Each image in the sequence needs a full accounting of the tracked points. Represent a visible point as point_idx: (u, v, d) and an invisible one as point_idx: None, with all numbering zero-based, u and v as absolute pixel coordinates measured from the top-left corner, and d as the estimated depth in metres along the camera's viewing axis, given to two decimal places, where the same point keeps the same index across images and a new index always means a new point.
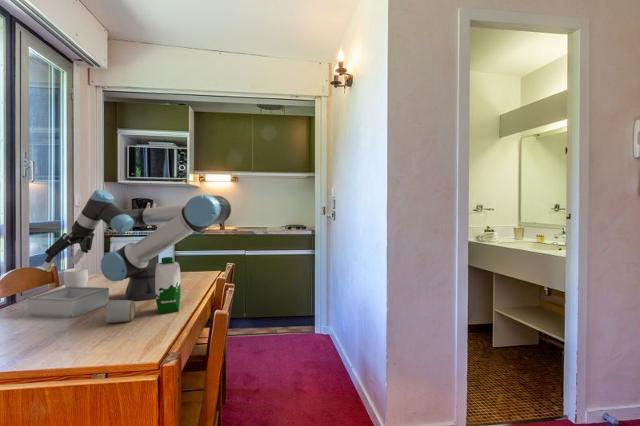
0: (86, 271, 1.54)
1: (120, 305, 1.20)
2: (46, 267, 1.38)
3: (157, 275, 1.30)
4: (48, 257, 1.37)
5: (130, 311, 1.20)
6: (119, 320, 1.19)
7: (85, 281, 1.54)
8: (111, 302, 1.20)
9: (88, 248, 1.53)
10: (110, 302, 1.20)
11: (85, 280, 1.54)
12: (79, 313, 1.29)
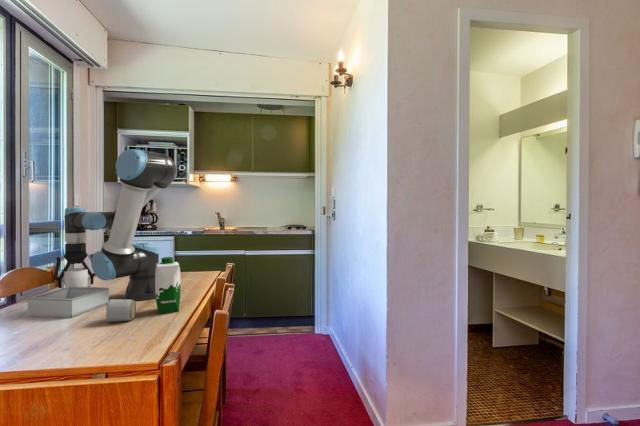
0: (86, 271, 1.54)
1: (121, 304, 1.20)
2: None
3: (157, 275, 1.30)
4: (58, 282, 1.50)
5: (131, 310, 1.21)
6: (120, 319, 1.20)
7: (85, 281, 1.54)
8: (112, 301, 1.20)
9: (94, 273, 1.57)
10: (111, 301, 1.20)
11: (85, 280, 1.54)
12: (79, 313, 1.29)
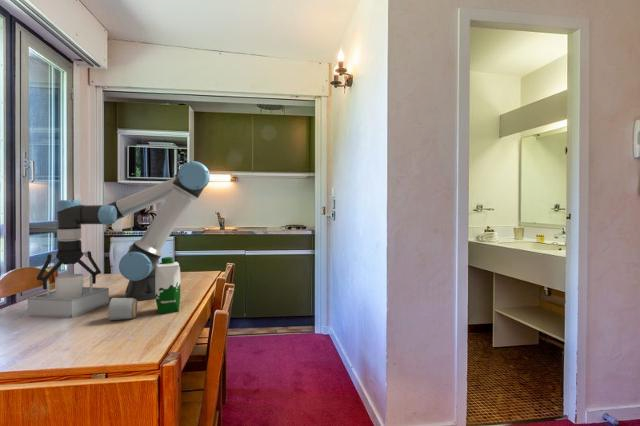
0: (81, 277, 1.36)
1: (123, 302, 1.22)
2: (47, 295, 1.31)
3: (157, 275, 1.30)
4: None
5: (132, 309, 1.23)
6: (122, 317, 1.22)
7: (80, 289, 1.35)
8: (114, 300, 1.22)
9: (96, 271, 1.40)
10: (113, 300, 1.22)
11: (80, 288, 1.35)
12: (79, 313, 1.29)
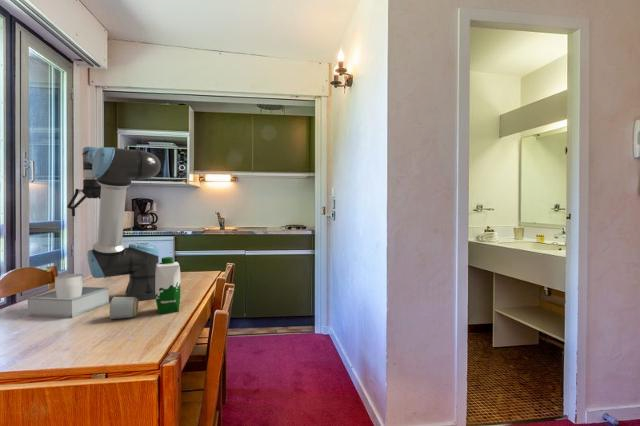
0: (81, 278, 1.36)
1: (124, 301, 1.24)
2: (75, 221, 1.66)
3: (157, 275, 1.30)
4: None
5: (134, 307, 1.24)
6: (123, 316, 1.24)
7: (80, 289, 1.35)
8: (115, 299, 1.24)
9: None
10: (114, 299, 1.24)
11: (80, 288, 1.35)
12: (79, 313, 1.29)
